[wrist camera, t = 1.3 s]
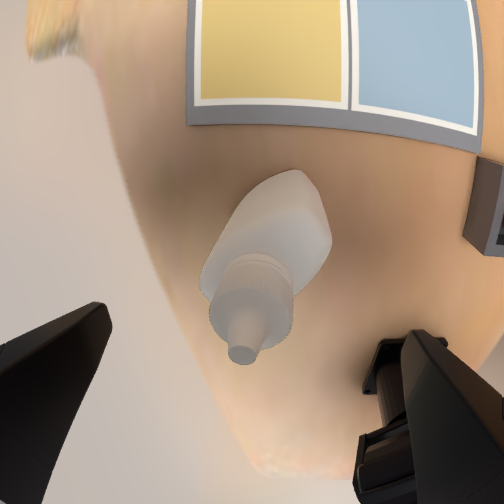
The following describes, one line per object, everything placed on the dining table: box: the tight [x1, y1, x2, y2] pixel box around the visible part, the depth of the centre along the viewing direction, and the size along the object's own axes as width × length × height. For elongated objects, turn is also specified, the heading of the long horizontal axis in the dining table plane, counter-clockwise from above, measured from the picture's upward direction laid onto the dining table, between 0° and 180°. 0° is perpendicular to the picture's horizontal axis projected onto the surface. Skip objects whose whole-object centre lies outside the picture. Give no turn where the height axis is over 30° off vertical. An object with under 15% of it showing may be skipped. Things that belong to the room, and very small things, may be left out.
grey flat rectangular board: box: [186, 0, 484, 154], centre depth 12 cm, size 12×18×1 cm, turn 90°
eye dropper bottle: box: [199, 169, 332, 365], centre depth 13 cm, size 4×6×12 cm
